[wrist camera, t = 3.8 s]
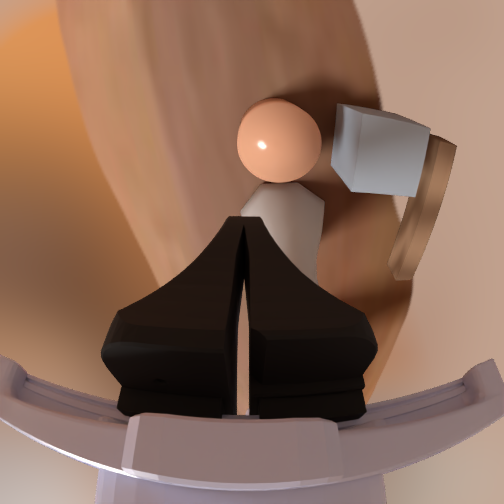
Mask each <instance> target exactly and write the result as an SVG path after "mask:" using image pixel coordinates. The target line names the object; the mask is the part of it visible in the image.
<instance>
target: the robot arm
mask: <svg viewBox="0 0 504 504" xmlns="http://www.w3.org/2000/svg"><path fill="white" fill-rule="evenodd" d="M244 280H245V291H246V301H247V311H248V321H249V408H248V409H247V411H246V415H237V345H238V322H239V314H240V306H241V298H242V291H243V283H244ZM377 351H378V344H377V341H376V338H375V336H374V333H373V330H372V328H371V326H370V324H369V322H368V320H367V318H366V316H365V314H364V313H363V312H361V311H359V310H357V309H356V308H354V307H352V306H350V305H348V304H346V303H344V302H343V301H341V300H339V299H337V298H336V297H334V296H333V295H331V294H330V293H328V292H327V291H325V290H324V289H322V288H321V287H320V286H318V285H317V284H316V283H314V282H313V281H312V280H311V279H309V278H308V277H307V276H306V275H305V274H303V273H302V272H301V271H300V270H299V269H298V268H297V267H296V266H295V265H294V264H293V263H292V262H291V260H290V259H289V258H288V257H287V256H286V255H285V253H284V252H283V251H282V250H281V248H280V247H279V246H278V244H277V243H276V242H275V240H274V239H273V237H272V236H271V234H270V233H269V231H268V229H267V228H266V226H265V224H264V222H263V220H262V218H261V217H260V216H229V217H228V218H227V219H226V221H225V222H224V224H223V226H222V227H221V229H220V230H219V232H218V233H217V234H216V236H215V237H214V238H213V240H212V241H211V242H210V243H209V245H208V246H207V247H206V248H205V249H204V250H203V251H202V253H201V254H200V255H199V256H198V257H197V258H196V259H195V260H194V261H193V262H192V263H191V264H190V265H189V266H188V267H187V268H186V269H185V270H183V271H182V272H181V273H180V274H178V275H177V276H176V277H175V278H173V279H172V280H171V281H169V282H168V283H167V284H165V285H164V286H162V287H161V288H159V289H158V290H156V291H154V292H153V293H151V294H149V295H148V296H146V297H144V298H143V299H141V300H139V301H137V302H135V303H133V304H131V305H129V306H127V307H125V308H123V309H121V310H119V311H118V312H117V314H116V316H115V318H114V320H113V321H112V323H111V326H110V328H109V331H108V333H107V336H106V339H105V341H104V344H103V347H102V350H101V358H102V360H103V362H104V363H105V365H106V367H107V368H108V370H109V371H110V372H111V373H112V374H113V376H114V377H115V378H116V379H117V381H118V382H119V383H120V384H121V385H122V387H121V391H120V396H119V399H118V401H114V400H110V399H105V398H101V397H97V396H93V395H89V394H86V393H82V392H79V391H75V390H72V389H69V388H66V387H63V386H60V385H57V384H54V383H51V382H48V381H45V380H42V379H40V378H37V377H35V376H32V375H30V374H27V372H26V371H25V370H24V369H23V367H21V366H20V365H19V364H18V363H16V362H15V361H14V360H12V359H9V358H7V357H5V356H2V355H0V420H1V421H3V422H4V423H6V424H8V425H9V426H11V427H12V428H14V429H15V430H17V431H18V432H20V433H22V434H24V435H25V436H27V437H29V438H31V439H32V440H34V441H36V442H38V443H40V444H42V445H44V446H46V447H48V448H50V449H52V450H54V451H56V452H58V453H61V454H63V455H65V456H67V457H70V458H72V459H74V460H77V461H79V462H82V463H84V464H87V465H90V466H92V467H95V468H98V469H99V473H98V480H97V488H96V496H95V504H387V502H386V494H385V486H384V478H383V474H385V473H388V472H391V471H394V470H397V469H400V468H403V467H406V466H409V465H411V464H414V463H417V462H419V461H422V460H424V459H427V458H429V457H431V456H434V455H436V454H438V453H440V452H442V451H444V450H446V449H448V448H451V447H453V446H455V445H456V444H459V443H460V442H462V441H464V440H466V439H468V438H470V437H472V436H473V435H475V434H477V433H478V432H480V431H482V430H483V429H485V428H487V427H488V426H490V425H491V424H493V423H494V422H496V421H497V420H499V419H500V418H502V417H503V416H504V383H503V380H502V378H501V375H500V373H499V371H498V368H497V366H496V364H495V362H494V359H490V360H487V361H485V362H483V363H480V364H478V365H476V366H474V367H473V368H471V369H470V370H469V371H468V372H467V373H466V374H465V375H464V376H463V378H461V379H458V380H455V381H453V382H450V383H447V384H444V385H441V386H438V387H435V388H432V389H429V390H425V391H422V392H418V393H414V394H411V395H407V396H403V397H399V398H396V399H391V400H386V401H382V402H377V403H372V404H367V405H365V401H364V397H363V392H362V389H364V387H365V383H364V379H363V374H364V372H365V371H366V369H367V368H368V366H369V365H370V364H371V362H372V361H373V359H374V358H375V355H376V353H377Z"/></svg>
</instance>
